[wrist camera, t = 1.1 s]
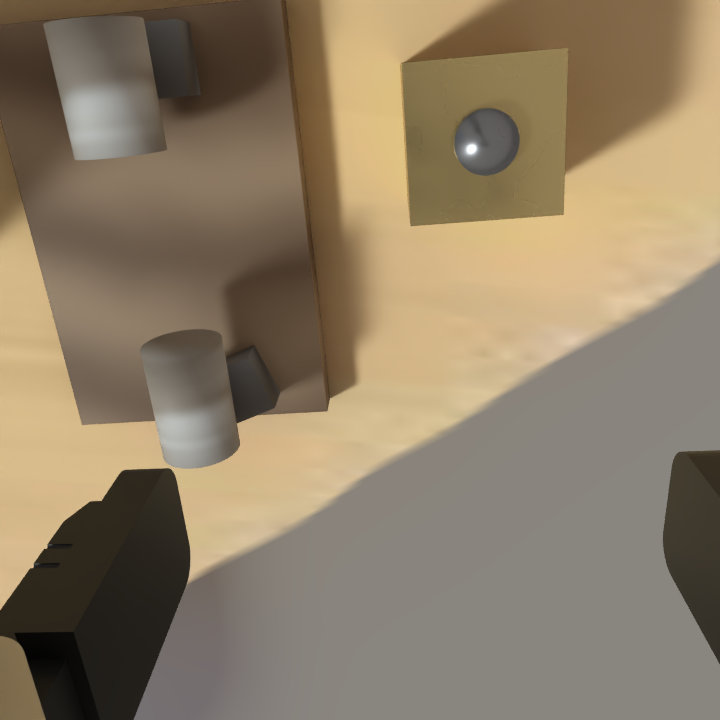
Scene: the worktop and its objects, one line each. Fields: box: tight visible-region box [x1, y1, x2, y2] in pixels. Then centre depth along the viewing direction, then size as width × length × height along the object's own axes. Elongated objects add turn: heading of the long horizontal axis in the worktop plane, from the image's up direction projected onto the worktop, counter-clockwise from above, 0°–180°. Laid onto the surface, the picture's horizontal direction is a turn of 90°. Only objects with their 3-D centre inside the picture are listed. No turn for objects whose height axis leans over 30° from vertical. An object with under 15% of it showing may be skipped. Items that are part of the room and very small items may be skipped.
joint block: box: [400, 48, 568, 226], centre depth 24 cm, size 5×5×5 cm
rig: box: [0, 0, 330, 469], centre depth 26 cm, size 16×11×6 cm, turn 5°
